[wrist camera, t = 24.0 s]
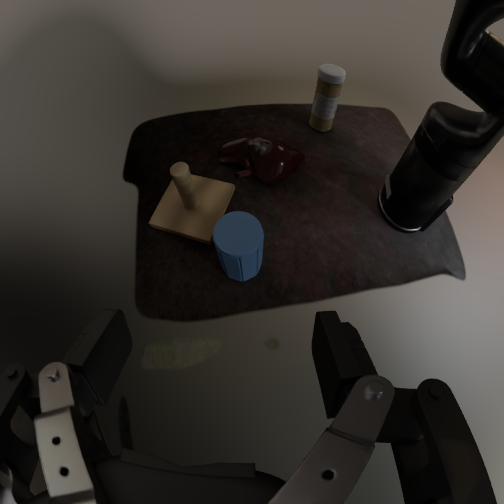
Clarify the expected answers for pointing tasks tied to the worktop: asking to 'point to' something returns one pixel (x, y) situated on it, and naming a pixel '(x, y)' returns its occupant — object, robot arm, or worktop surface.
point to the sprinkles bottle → (326, 96)
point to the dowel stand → (192, 205)
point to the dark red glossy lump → (261, 158)
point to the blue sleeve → (239, 244)
